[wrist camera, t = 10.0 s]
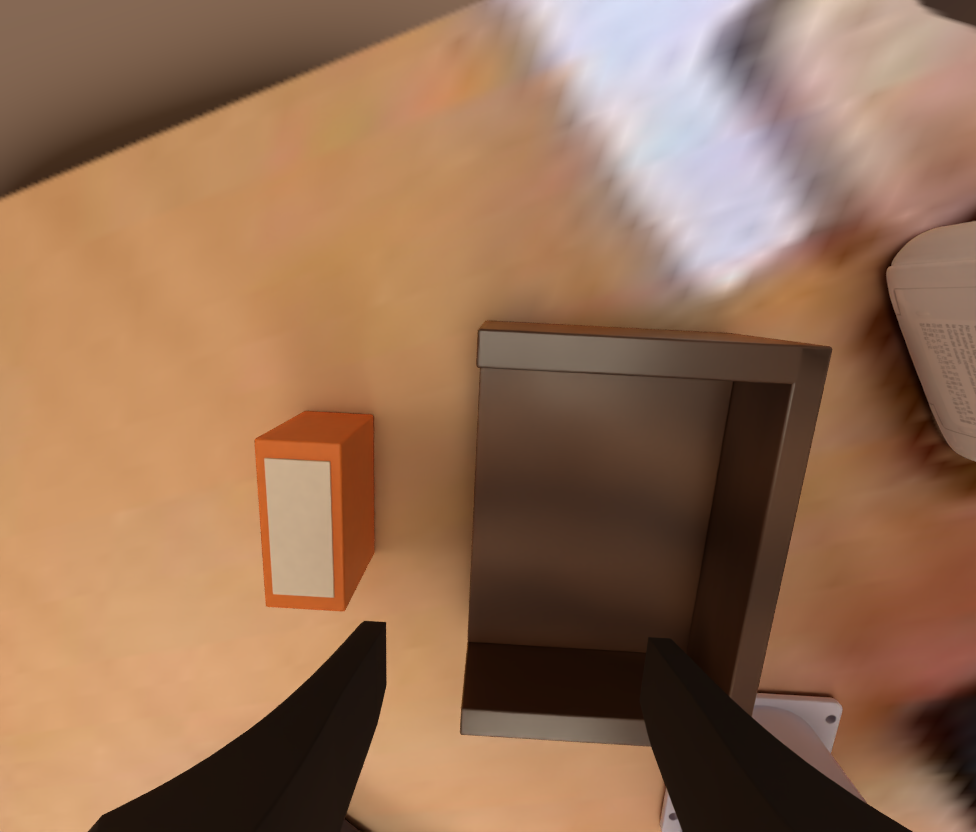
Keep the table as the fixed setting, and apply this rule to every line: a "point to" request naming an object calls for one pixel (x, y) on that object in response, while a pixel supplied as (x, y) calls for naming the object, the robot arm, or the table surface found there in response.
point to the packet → (316, 508)
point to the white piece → (941, 324)
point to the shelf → (627, 517)
